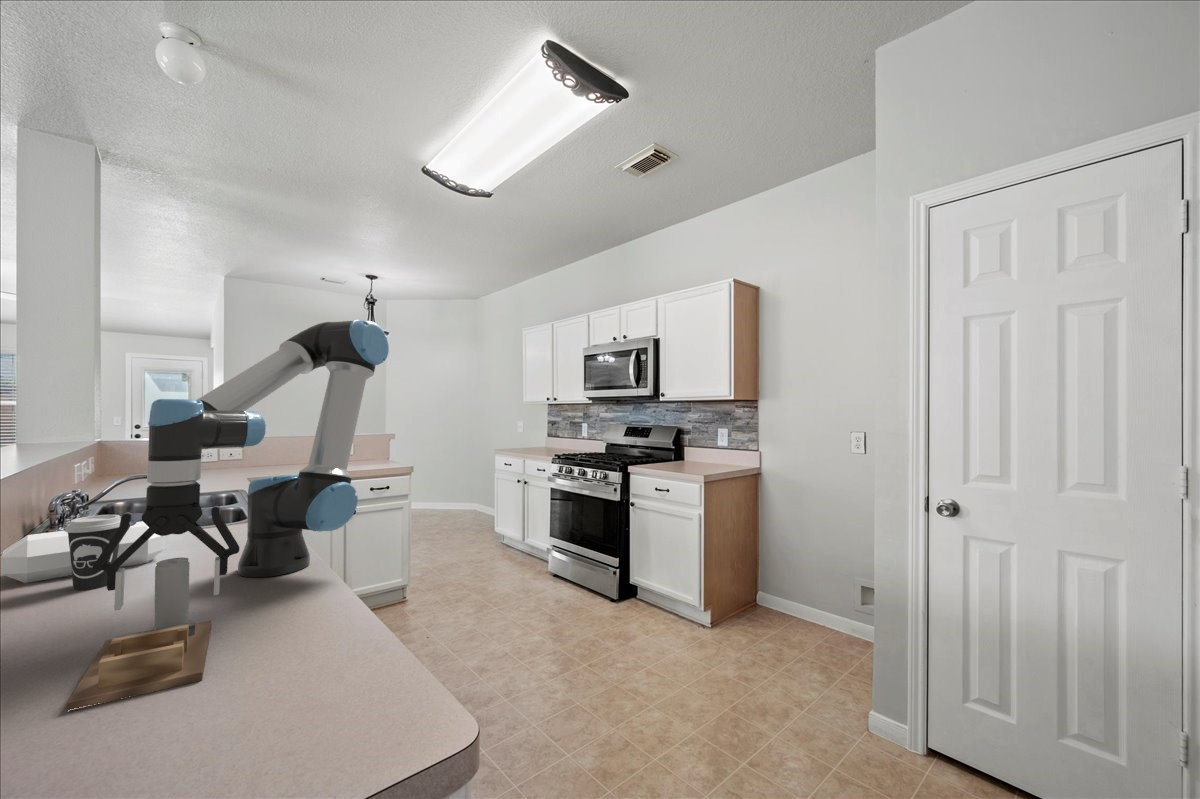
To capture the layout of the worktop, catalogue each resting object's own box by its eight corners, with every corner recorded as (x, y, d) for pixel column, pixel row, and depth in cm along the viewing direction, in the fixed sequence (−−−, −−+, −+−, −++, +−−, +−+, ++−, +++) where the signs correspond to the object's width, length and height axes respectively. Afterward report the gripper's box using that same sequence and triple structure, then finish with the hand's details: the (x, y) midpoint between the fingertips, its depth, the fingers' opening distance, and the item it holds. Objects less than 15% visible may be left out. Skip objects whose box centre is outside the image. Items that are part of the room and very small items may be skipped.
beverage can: (168, 634, 90) (169, 565, 90) (146, 631, 91) (148, 564, 91) (195, 622, 94) (196, 558, 95) (174, 620, 95) (175, 556, 96)
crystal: (168, 525, 131) (1, 546, 111) (167, 562, 131) (0, 591, 110) (159, 517, 141) (4, 535, 120) (158, 551, 141) (2, 576, 120)
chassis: (211, 627, 93) (211, 601, 93) (202, 680, 74) (202, 648, 75) (105, 647, 85) (106, 618, 85) (66, 712, 66) (67, 676, 67)
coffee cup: (133, 580, 117) (134, 515, 117) (79, 595, 108) (81, 524, 108) (107, 576, 120) (108, 512, 120) (52, 589, 111) (54, 520, 111)
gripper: (256, 476, 103) (252, 582, 102) (84, 485, 89) (79, 607, 88) (256, 480, 97) (252, 593, 96) (72, 490, 83) (66, 622, 82)
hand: (169, 600), depth 92 cm, fingers open, 13 cm apart
